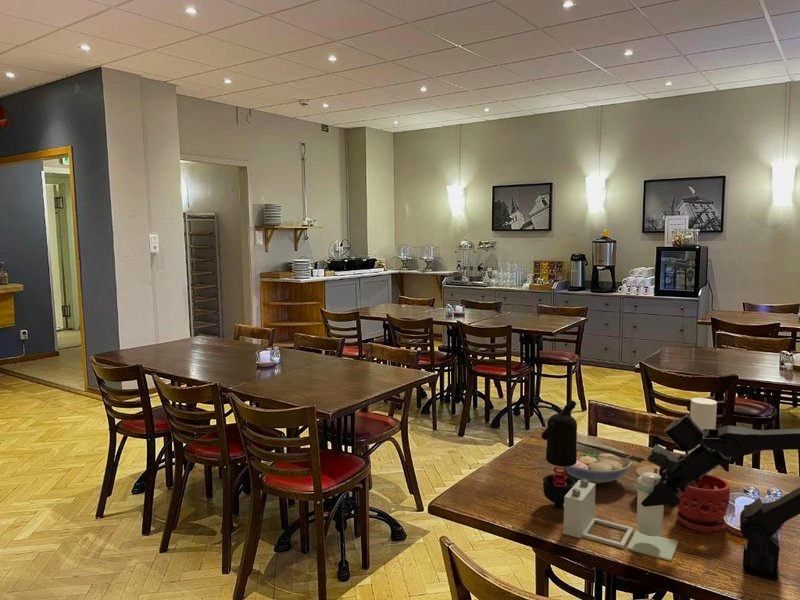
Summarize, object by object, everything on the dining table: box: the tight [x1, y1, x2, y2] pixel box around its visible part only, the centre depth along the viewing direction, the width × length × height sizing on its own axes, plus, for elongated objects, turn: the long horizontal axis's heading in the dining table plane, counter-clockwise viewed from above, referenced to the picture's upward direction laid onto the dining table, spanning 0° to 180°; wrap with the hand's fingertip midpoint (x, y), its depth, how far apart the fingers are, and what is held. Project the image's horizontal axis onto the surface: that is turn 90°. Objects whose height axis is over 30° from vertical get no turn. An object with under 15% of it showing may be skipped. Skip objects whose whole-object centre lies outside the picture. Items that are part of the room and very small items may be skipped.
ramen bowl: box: [562, 441, 645, 485], centre depth 189 cm, size 25×23×8 cm
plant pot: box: [676, 474, 731, 533], centre depth 160 cm, size 13×13×12 cm
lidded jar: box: [635, 465, 660, 490], centre depth 175 cm, size 11×11×9 cm
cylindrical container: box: [687, 397, 718, 476], centre depth 187 cm, size 7×7×25 cm
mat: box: [626, 529, 679, 562], centre depth 150 cm, size 10×10×1 cm
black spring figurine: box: [540, 400, 578, 509], centre depth 168 cm, size 14×9×30 cm
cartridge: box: [636, 472, 665, 537], centre depth 149 cm, size 6×6×14 cm
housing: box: [563, 479, 635, 550], centre depth 156 cm, size 15×12×11 cm
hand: (644, 499), depth 150 cm, fingers closed on cartridge, 6 cm apart
